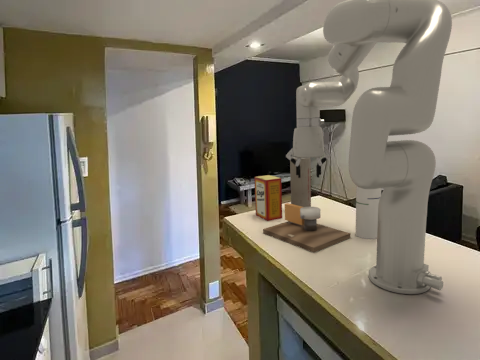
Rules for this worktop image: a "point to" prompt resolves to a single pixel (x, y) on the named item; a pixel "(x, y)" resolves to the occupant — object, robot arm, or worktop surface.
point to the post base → (307, 234)
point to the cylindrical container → (367, 212)
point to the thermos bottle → (301, 183)
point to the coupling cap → (300, 213)
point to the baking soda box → (268, 197)
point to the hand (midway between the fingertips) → (308, 176)
